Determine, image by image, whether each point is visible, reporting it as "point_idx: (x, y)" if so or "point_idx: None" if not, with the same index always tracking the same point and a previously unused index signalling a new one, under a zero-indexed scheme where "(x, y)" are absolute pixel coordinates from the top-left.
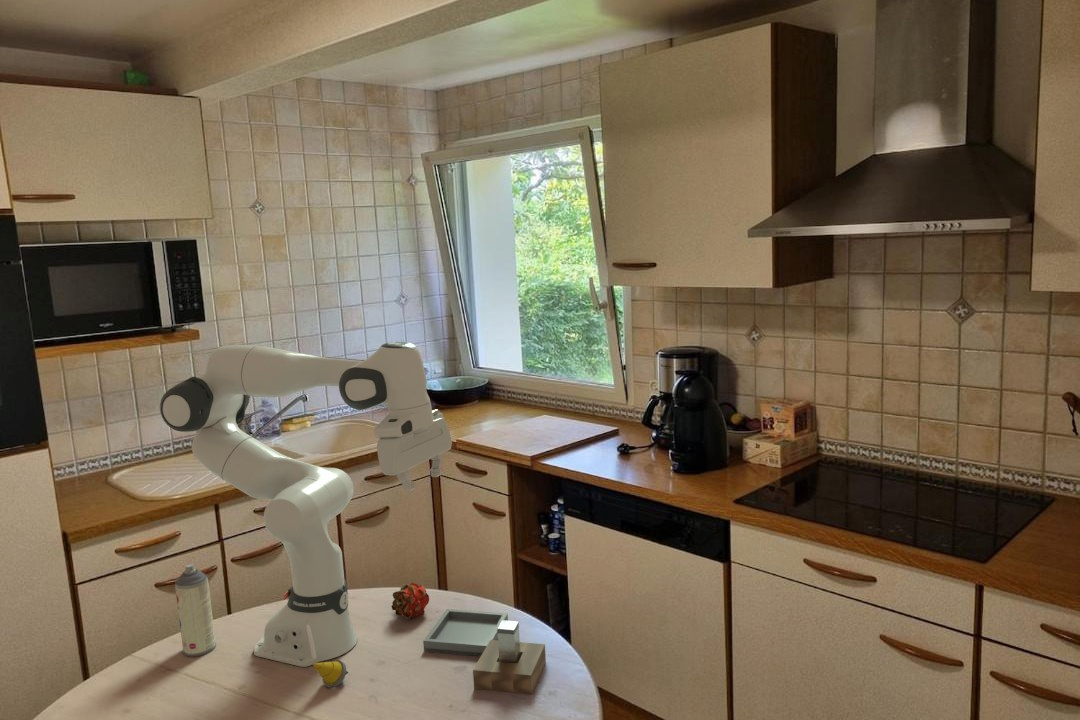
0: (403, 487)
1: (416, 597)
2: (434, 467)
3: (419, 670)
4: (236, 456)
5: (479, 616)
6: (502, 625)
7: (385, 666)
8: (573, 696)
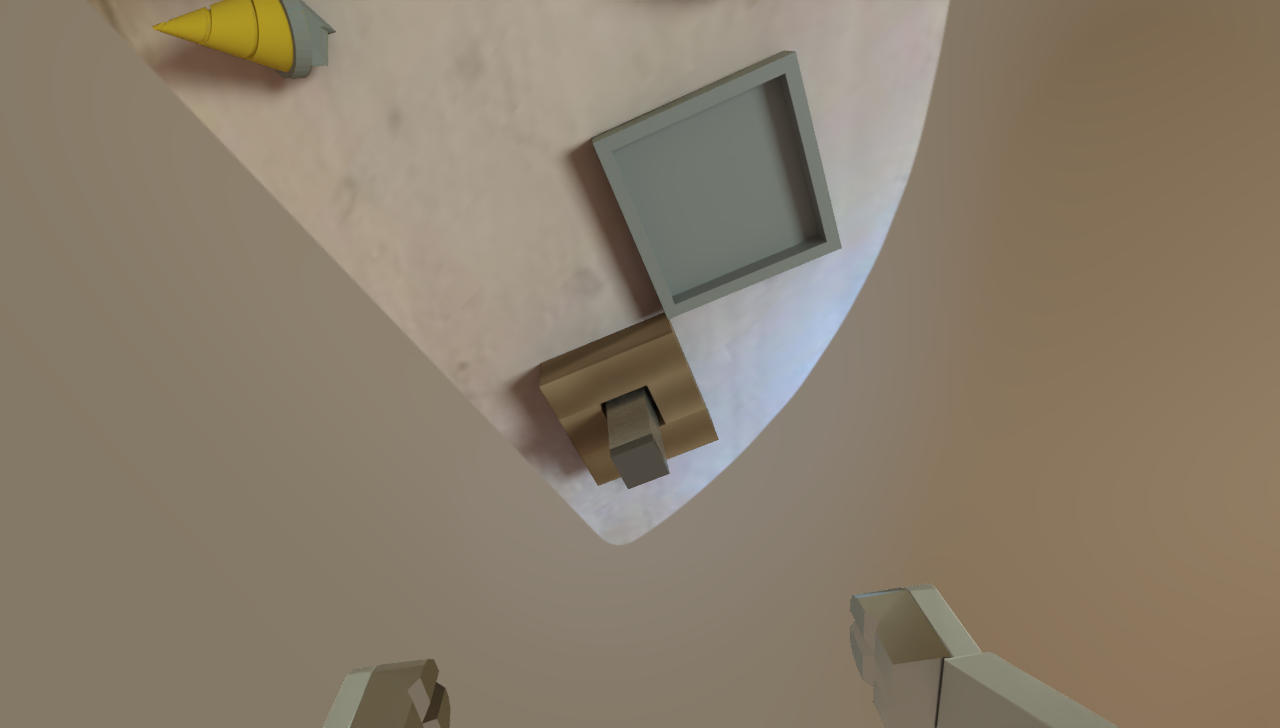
0: (338, 703)
1: None
2: (944, 693)
3: (514, 201)
4: None
5: (807, 172)
6: (631, 456)
7: (464, 96)
8: (633, 511)
